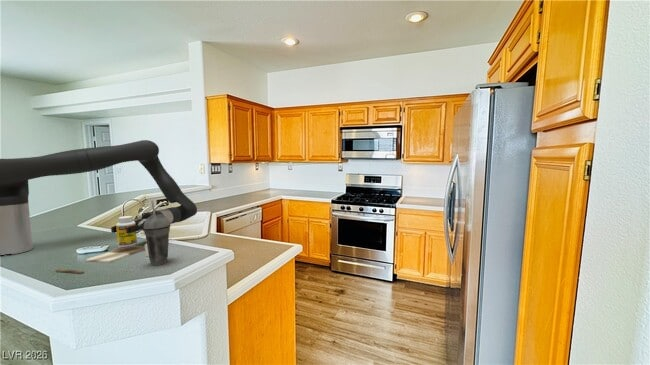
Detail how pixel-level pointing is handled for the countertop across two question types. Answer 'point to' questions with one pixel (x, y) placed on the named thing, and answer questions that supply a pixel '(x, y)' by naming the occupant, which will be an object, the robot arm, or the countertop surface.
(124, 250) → the game track
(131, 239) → the supplement bottle
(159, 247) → the beverage cup
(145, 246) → the die
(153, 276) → the countertop surface
